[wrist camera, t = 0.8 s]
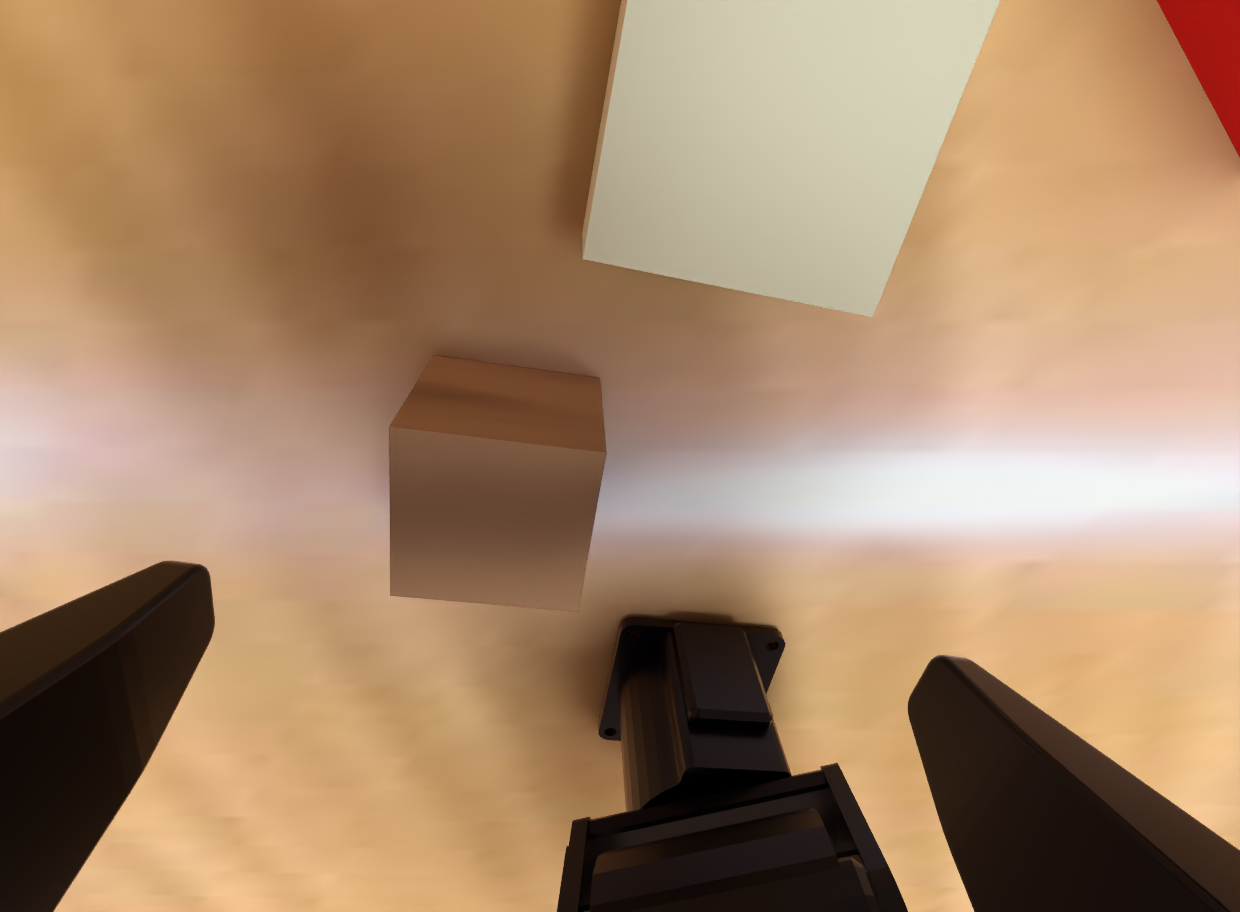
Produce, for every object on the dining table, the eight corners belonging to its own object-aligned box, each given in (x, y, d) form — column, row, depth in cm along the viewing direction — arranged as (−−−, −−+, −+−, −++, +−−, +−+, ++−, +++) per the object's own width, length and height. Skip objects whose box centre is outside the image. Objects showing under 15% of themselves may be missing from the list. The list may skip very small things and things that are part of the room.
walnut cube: (578, 511, 21) (578, 611, 17) (430, 495, 21) (390, 595, 16) (599, 377, 19) (606, 452, 15) (434, 354, 18) (389, 426, 14)
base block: (816, 279, 18) (872, 317, 15) (582, 230, 17) (583, 258, 14) (915, -8, 15) (1018, -46, 12) (635, -88, 14) (654, -158, 10)
